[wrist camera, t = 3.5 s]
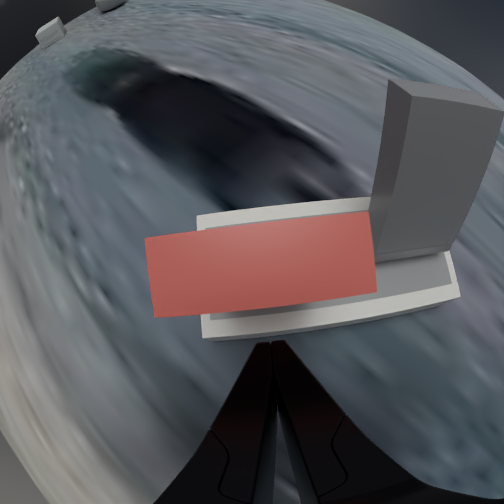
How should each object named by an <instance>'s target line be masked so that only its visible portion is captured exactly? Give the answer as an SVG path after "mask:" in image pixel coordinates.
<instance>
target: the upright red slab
mask: <svg viewBox="0 0 504 504" xmlns="http://www.w3.org/2000/svg"><path fill="white" fill-rule="evenodd" d="M145 247H146V256H147V265H148V274H149V281H150V289H151V296H152V303H153V310H154V316H155V318H158V317H174V316H188V315H200V314H212V313H223V312H233V311H243V310H253V309H262V308H270V307H279V306H287V305H295V304H303V303H310V302H317V301H324V300H331V299H338V298H345V297H351V296H357V295H363V294H369V293H375V292H377V283H376V270H375V260H374V250H373V241H372V233H371V225H370V218H369V211H367V212H356V213H346V214H336V215H326V216H316V217H307V218H298V219H289V220H280V221H271V222H262V223H254V224H246V225H238V226H230V227H222V228H214V229H206V230H199V231H191V232H184V233H177V234H170V235H162V236H156V237H149V238H145Z"/></svg>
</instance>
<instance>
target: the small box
mask: <svg viewBox="0 0 504 504" xmlns="http://www.w3.org/2000/svg"><path fill="white" fill-rule="evenodd" d="M65 31H66V30H65V28H64V26H63V24H62V22H61V20H60V18H59V17H57V18H55V19H54V20H52V21H51V22H49V23H48V24H46V25H44V26H43V27H41V28H40V29H39V30H38V31H37V33H36V35H35V36H36V38H37V39H38V41H39V43H40V45H41V46H42V48H43V50H44V49H45V48H47V47H48V46H50V45H51V44H53V43H54V42H56V41H58V40H59V39H61V38H63V37H64V36H65Z"/></svg>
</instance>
